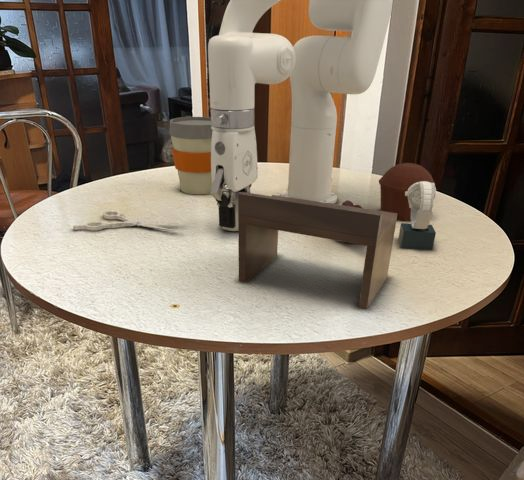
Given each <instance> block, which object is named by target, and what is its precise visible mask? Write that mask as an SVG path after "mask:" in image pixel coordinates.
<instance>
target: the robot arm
mask: <svg viewBox="0 0 524 480" xmlns="http://www.w3.org/2000/svg"><path fill="white" fill-rule="evenodd" d="M281 1H282V0H229V2H228V4H227V6H226V9H225V11H224V14H223V17H222V21H221V25H220V29H219V32H218V34H217V35H214V36H211V38H210V39H209V41H208V43H207V57H208V58H207V59H208V60H207V61H208V81H209V107H210V117H211V129H212V130H213V131H212V143H211V178H212V185H213V187H212V190H211V196H212V197H213V198H214V199H215V201H216V205H217V206H218V225H219V226H220V227H221V228H222V227H227V228H235V226H236V223H235V207H234V206H233V201H234V192H246V193H251V187H252V185H253V184H254V183H256V182H257V179H258V176H259V175H258V174H259V173H258V172H259V171H258V169H259V168H258V167H259V166H258V147H257V145H258V144H257V136H256V129H255V104H256V103H255V100H256V99H255V98H256V97H255V95H256V94H255V91H256V90H255V85H256V84H262V85H278V84H281V83H283V82H284V81H286V80H288V78H289V83H290V92H291V93H290V94H291V117H290V139H289V157H288V159H289V161H288V181H287V182H288V183H287V189H286V190H284V191H282V192H280V196H284V197H291V198H297V199H304V200H311V201H318V202H324V203H331V204H337V201H338V196H337V194H336V193H334V192H333V191H331V189H332V181H333V170H334V169H333V168H334V159H335V158H334V156H335V146H336V136H337V125H338V112H337V107H336V105H335V101H334V99H333V97H332V94H343V95H361V94H363V93H365V92H366V91H368V89H369V88H370V87H371V85H372V84H373V81H374V79H375V76H376V73H377V69H378V65H379V63H380V62H379V61H380V59H381V55H382V50H383V46H384V43H385V39H386V35H387V31H388V27H389V24H390V20H391V14H392V10H393V2H394V1H393V0H309V3H308V18H309V21H310V22H311V25H312V26H314V27H315V28H317V29H319V30H321V31H328V32H329V31H331V32H332V31H333V32H352V33H351V36H337V35H309V36H305V37H302V38H300V39H299V40H297V41H296V42H295V44H294V45H293V44H292V43H291V42H290V40H289V39H288V38H286V37H285V36H283V35H281V34H277V33H267V32H265V33H261V32H253V31H254V29H255V27H256V25H257V24H258V22H259V20H260V19H261V18H262V16H264V14H265V13H266V12H267V11H268V10H269V9H271V8H272V7H273V6H275V5H276V4H277V3H279V2H281ZM331 93H332V94H331ZM225 186H227V188H226V187H225ZM226 192H229V196H228V198H227V196H226V195H225V194H223V193H226Z"/></svg>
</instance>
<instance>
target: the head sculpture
mask: <svg viewBox="0 0 524 480" xmlns="http://www.w3.org/2000/svg"><path fill="white" fill-rule="evenodd" d="M434 183H435V182H434ZM434 183H430V182H426V181H421V182H417V183H415V184H413V185H411V186H410V187H409V189H408V191H406V192H405V196H408V201H409V208H411V211H412V212H411V220H410V223H407V222H403V223H402V222H401V223H400V227H399V234H398V238H397V241H398V244H399V246H400V247H399V248H400V249H413V250H426V251H427V250H428V251H429V250H430V251H433V249H434V244H435V239H436V234H437V232H436V230H435V228H434V226H433V224H430V223H431V220H432V215H433V207H434V201H435V199H436V196H437V188H436V183H435V184H434ZM416 213H417V214H416Z"/></svg>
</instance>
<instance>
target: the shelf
mask: <svg viewBox="0 0 524 480" xmlns="http://www.w3.org/2000/svg"><path fill="white" fill-rule="evenodd" d="M238 223H239V224H238V231H237V232H238V238H237V239H238V242H237V243H238V244H237V245H238V246H237V247H238V248H237V249H238V282H241V283H247V282H248V281H249V280H251V279H252V278H253V277H254V276H255V275H257V274H258V273H259V272H260V271H262V270H263V269H264V268H265V267H266V266H267V265H269V264H270V263H271V262H272V261H273V260H275V259H276V258H277V257H278V248H279V247H278V245H279V244H278V243H279V232H285V233H291V234H298V235H302V236H309V237H315V238H320V239H326V240H332V241H338V242H344V243H345V242H348V243H347V244H353V245H354V244H355V245H360V246H366V250H365V255H364V264H363V272H362V279H361V287H360V294H359V301H358V308H360V309H365V310H367V309H368V308H369V307H370V305H371V303H372V302H373V300H374V298H375V297H376V296H377V294H378V292H379V291H380V289H381V287H382V286H383V284H384V283H385V281H386V280H387V278H388V273H389V268H390V262H391V255H392V250H393V243H394V238H395V231H396V227H397V226H396V225H397V213H392V212H385V211H381V210H378V209H371V208H370V209H369V208H364V207H362V208H358V207H351V206H344V205H342V204H337V203H335V204H331V203H324V202H318V201H311V200H304V199H297V198H291V197H284V196H281V195H277V194H271V195H267V194H260V193H254V192H253V193H252V192H250V193H246V192H241V193H239V194H238Z"/></svg>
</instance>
